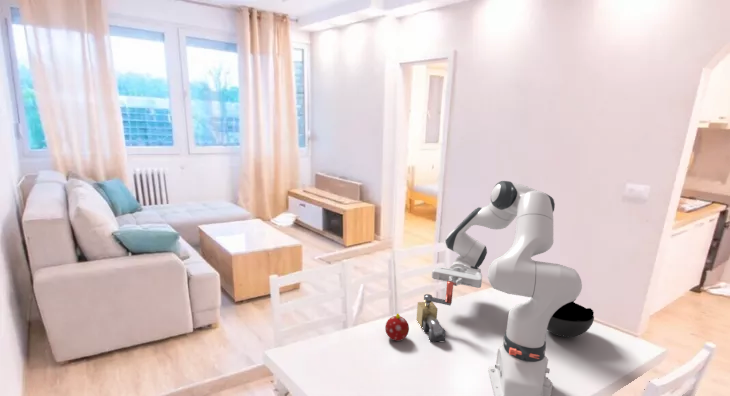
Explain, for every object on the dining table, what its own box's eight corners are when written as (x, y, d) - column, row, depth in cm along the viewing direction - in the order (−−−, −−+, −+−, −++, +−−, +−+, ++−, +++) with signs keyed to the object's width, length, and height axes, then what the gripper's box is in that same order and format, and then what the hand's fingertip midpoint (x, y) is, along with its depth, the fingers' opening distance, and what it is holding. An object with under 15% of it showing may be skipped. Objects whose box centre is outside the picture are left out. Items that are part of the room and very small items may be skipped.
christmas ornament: (391, 347, 134) (392, 321, 132) (381, 334, 141) (382, 310, 139) (412, 343, 137) (414, 317, 135) (401, 330, 145) (403, 306, 143)
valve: (416, 320, 153) (418, 298, 151) (430, 319, 154) (432, 297, 152) (430, 343, 137) (432, 319, 135) (446, 342, 138) (448, 318, 136)
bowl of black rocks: (581, 325, 155) (588, 282, 151) (597, 352, 136) (605, 304, 132) (529, 316, 160) (534, 275, 156) (537, 342, 141) (543, 295, 137)
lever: (422, 301, 148) (424, 278, 146) (424, 298, 150) (426, 275, 149) (450, 307, 143) (452, 284, 142) (452, 304, 146) (454, 281, 144)
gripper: (436, 260, 166) (428, 271, 154) (484, 269, 158) (480, 281, 146) (435, 274, 167) (427, 285, 155) (483, 283, 159) (478, 296, 147)
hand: (453, 283), depth 150 cm, fingers closed
